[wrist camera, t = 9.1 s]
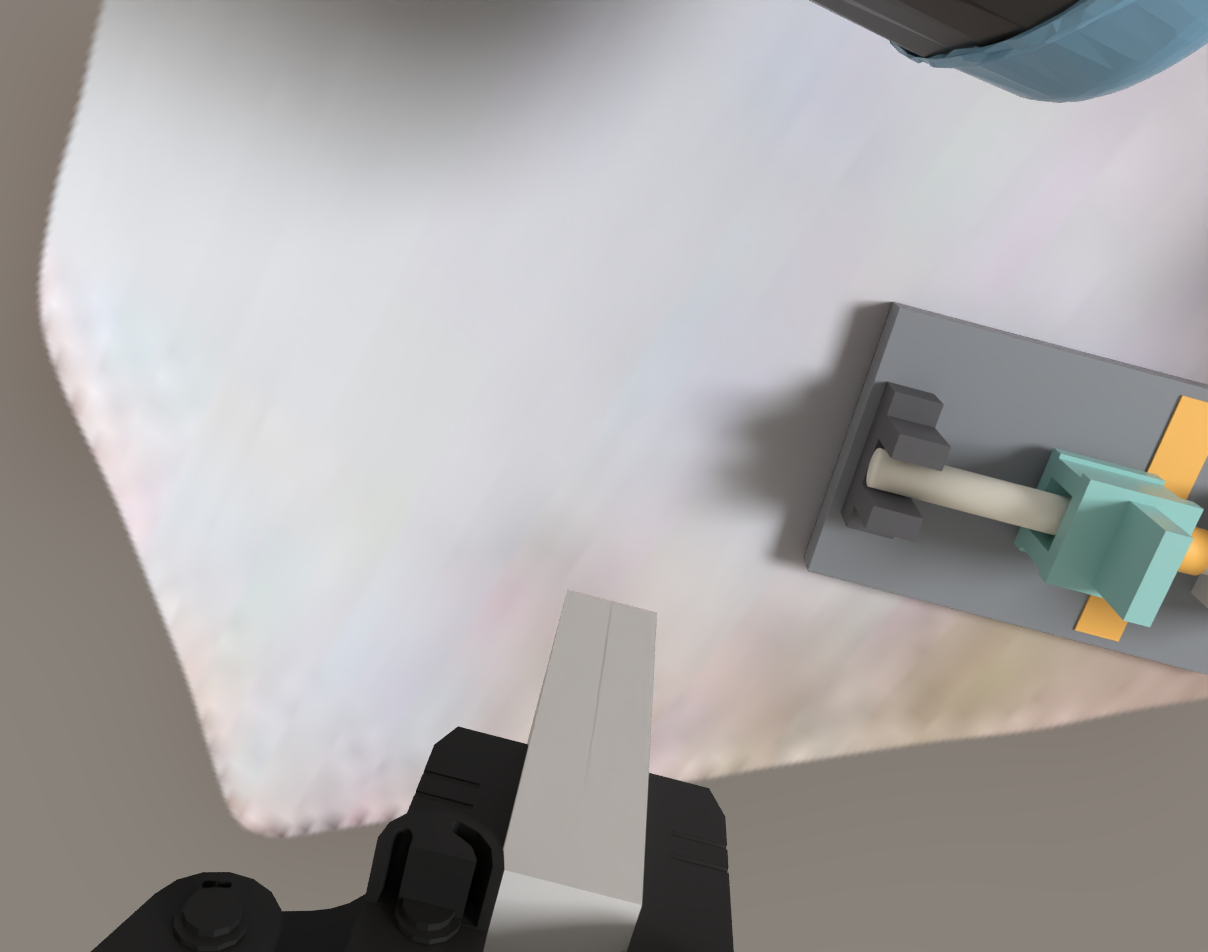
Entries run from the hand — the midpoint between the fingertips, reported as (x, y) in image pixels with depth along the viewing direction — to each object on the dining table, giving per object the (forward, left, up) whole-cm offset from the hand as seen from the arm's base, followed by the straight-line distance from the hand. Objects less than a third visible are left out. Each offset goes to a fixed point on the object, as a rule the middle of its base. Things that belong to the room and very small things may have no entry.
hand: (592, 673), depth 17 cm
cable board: (+2, +20, -28) cm, 35 cm away
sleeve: (+2, +20, -26) cm, 33 cm away
